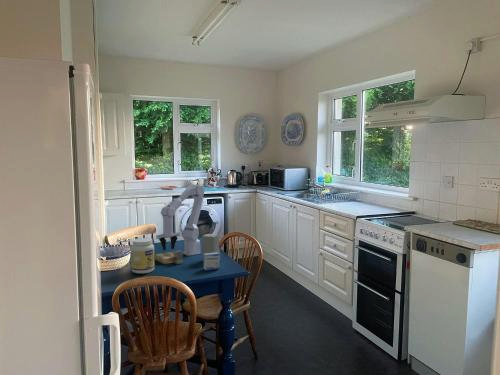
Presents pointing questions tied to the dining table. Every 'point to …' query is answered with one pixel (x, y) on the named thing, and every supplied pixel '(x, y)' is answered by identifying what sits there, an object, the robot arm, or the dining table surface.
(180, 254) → the column
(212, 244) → the skincare box
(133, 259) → the supplement tub
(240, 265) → the dining table surface
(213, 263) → the medicine box
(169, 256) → the green-striped tan block
